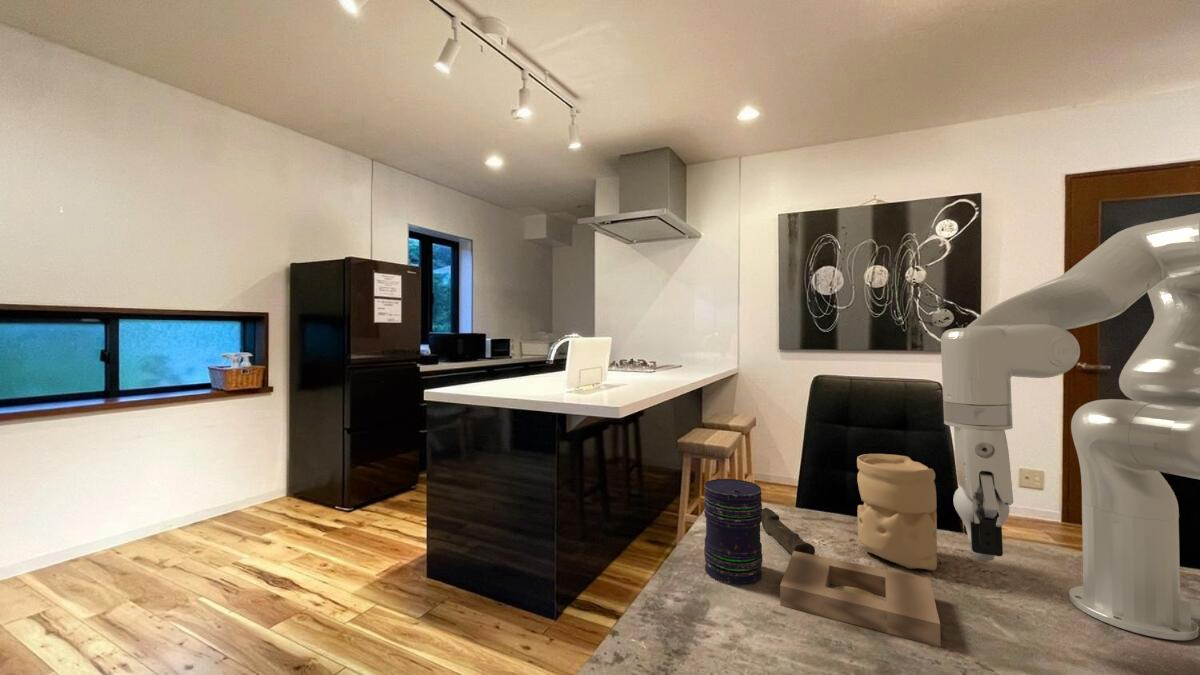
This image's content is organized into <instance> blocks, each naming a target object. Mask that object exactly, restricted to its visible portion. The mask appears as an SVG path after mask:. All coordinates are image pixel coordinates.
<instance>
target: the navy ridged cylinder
mask: <svg viewBox="0 0 1200 675" xmlns="http://www.w3.org/2000/svg"><path fill="white" fill-rule="evenodd" d="M704 490H705V491H704V500H703V504H704V506H703V507H704V511H703V512H704V518H705V537H704V547H703V548H704V549H703V550H704V551H703V554H704V561H705V565H704V571H706V572H705V573H706V575H707V574H708V575H709V576H710V578H711V579H712V578H713V580H714V579H715V580H714V581H716V580H717V581H716V582H718V581H719V583H722V584H724V585H725V584H726V585H729V586H733V587H734V586H735V587H736V586H737V587H745V586H747V587H748V586H752V585H755V584H757V583H759V582H760V581H761V580H762V578H763V572H762V568H763V553H762V552H763V551H762V550H763V548H762V547H763V546H762V543H761V524H762V513H761V512H762V509H763V503H762V488H761V486H760V485H758V484H757V483H754V482H751V481H747V480H742V479H735V478H716V479H711V480H708V481H706V482H705V483H704ZM708 575H707V576H708ZM709 576H708V577H709Z"/></svg>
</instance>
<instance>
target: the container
mask: <svg viewBox="0 0 1200 675" xmlns="http://www.w3.org/2000/svg"><path fill="white" fill-rule="evenodd" d="M856 467H857V469H858V472H857V478H856V479H857V485H858V487H857V488H858V491H859V495H860V499H861V501H862V502H863V504H859V505H857V537H858V542H859V544H860V548H861V549H862V550H863V551H864V552H866V553H870V554H873V555H875V556H878V557H880V558H882V559H883V560H886V561H889V562H891V563H894V564H897V565H899V566H902V567H904V568H907V569H909V570H914V569H915V570H916V569H923V570H927V571H932V572H934V571H936V570H937V568H938V557H937V552H938V551H937V550H938V539H937V537H938V535H937V534H938V532H937V530H938V529H937V528H938V527H937V523H938V522H937V518H938V514H937V507H938V506H937V488H936V483H935V480H936V472H935V471H934V469H933V468H929V467H928V466H926V465H925V464H923V463H921V462H919V461H914V460H912V459H911V457H909V456H907V455H900V454H888V453H887V454H886V453H867V454H861V455H859V456H857V458H856Z"/></svg>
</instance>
